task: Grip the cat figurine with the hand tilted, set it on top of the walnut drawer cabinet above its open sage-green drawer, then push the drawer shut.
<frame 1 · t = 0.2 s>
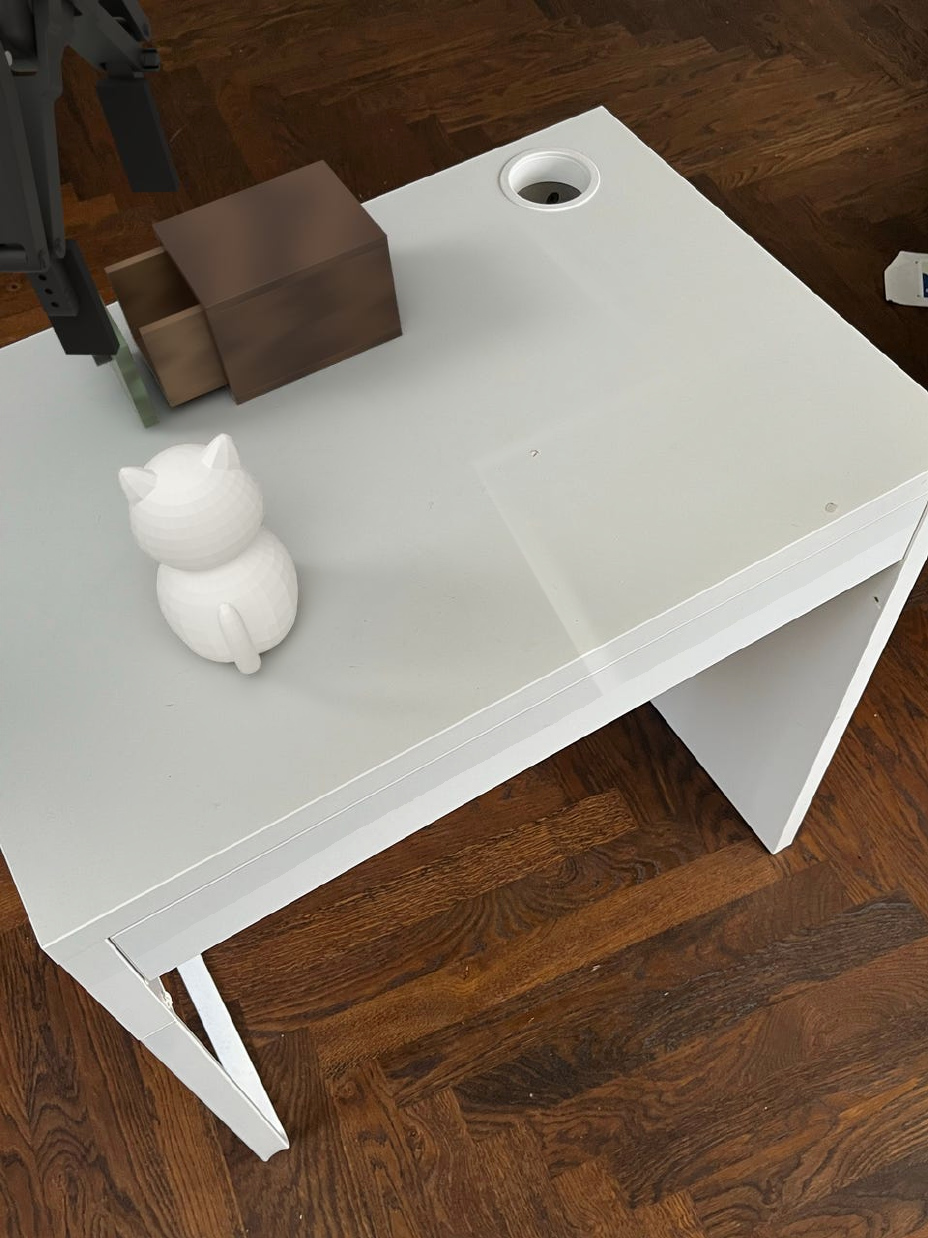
hand: (126, 264, 63), 24 cm above the table, tool pointing down, fingers open, 13 cm apart
drawer: (182, 320, 89), point 5 cm above the table, slide at 6.0 cm
cabinet: (292, 328, 95), on the table
cat figurine: (244, 628, 78), on the table
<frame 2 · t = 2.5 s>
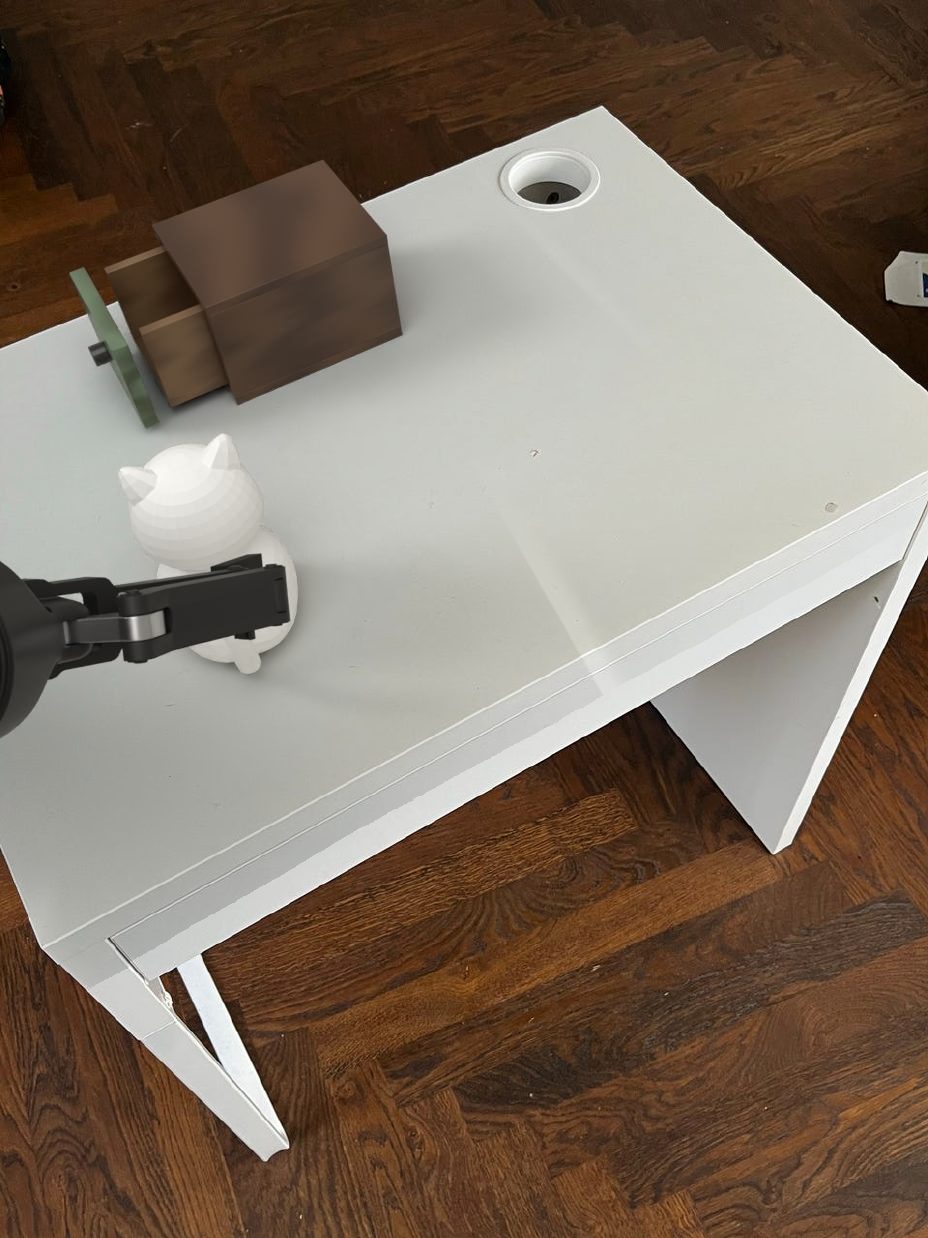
hand: (126, 589, 59), 17 cm above the table, tool tilted 45°, fingers open, 13 cm apart
nothing on the table moved.
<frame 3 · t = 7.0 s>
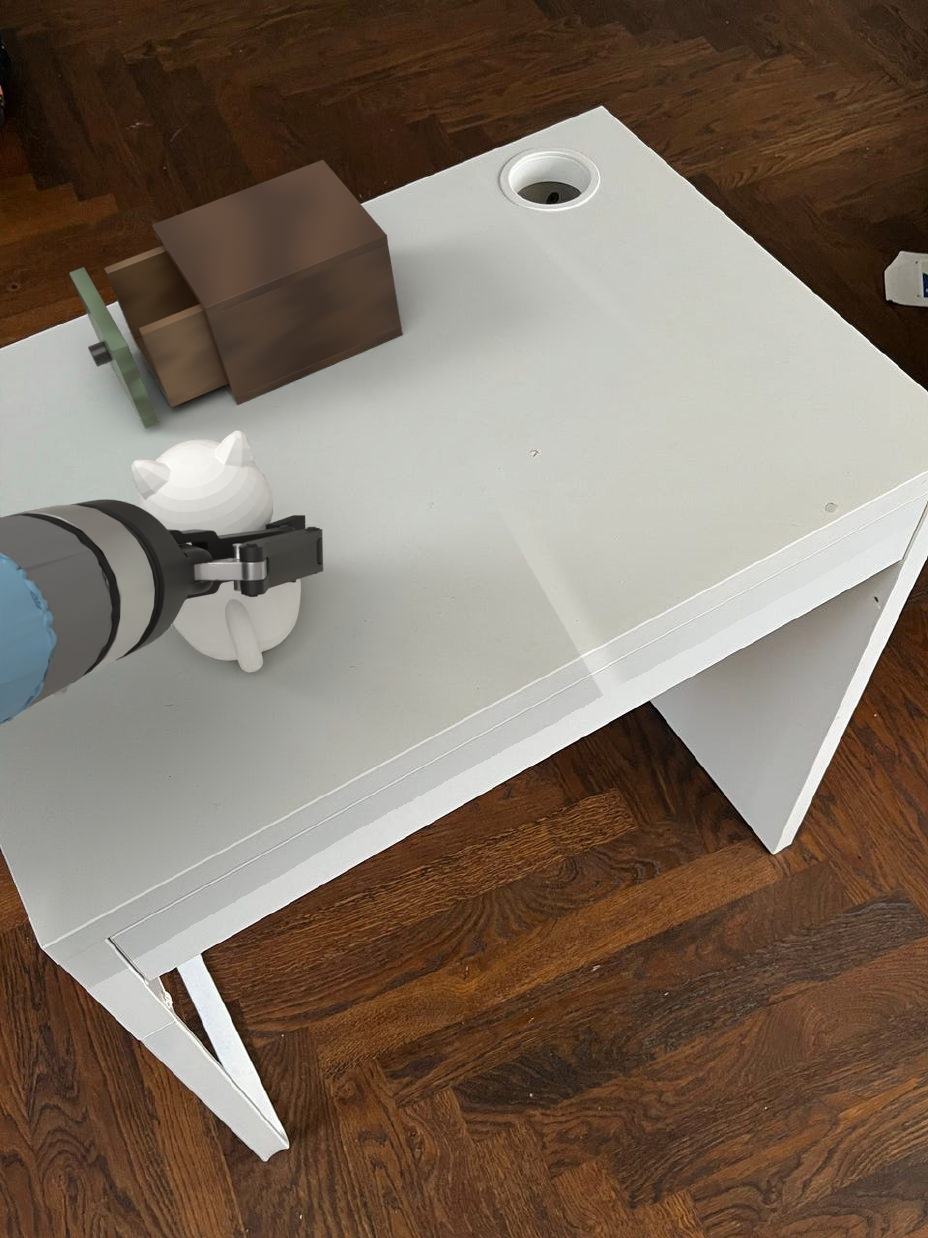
hand: (232, 535, 75), 6 cm above the table, tool tilted 45°, fingers closed on cat figurine, 8 cm apart
cat figurine: (245, 627, 77), on the table, touching gripper
everything else where it was.
when the fingers open (15 cm above the table, at t = 18.8 s): cat figurine stays where it is, resting on cabinet.
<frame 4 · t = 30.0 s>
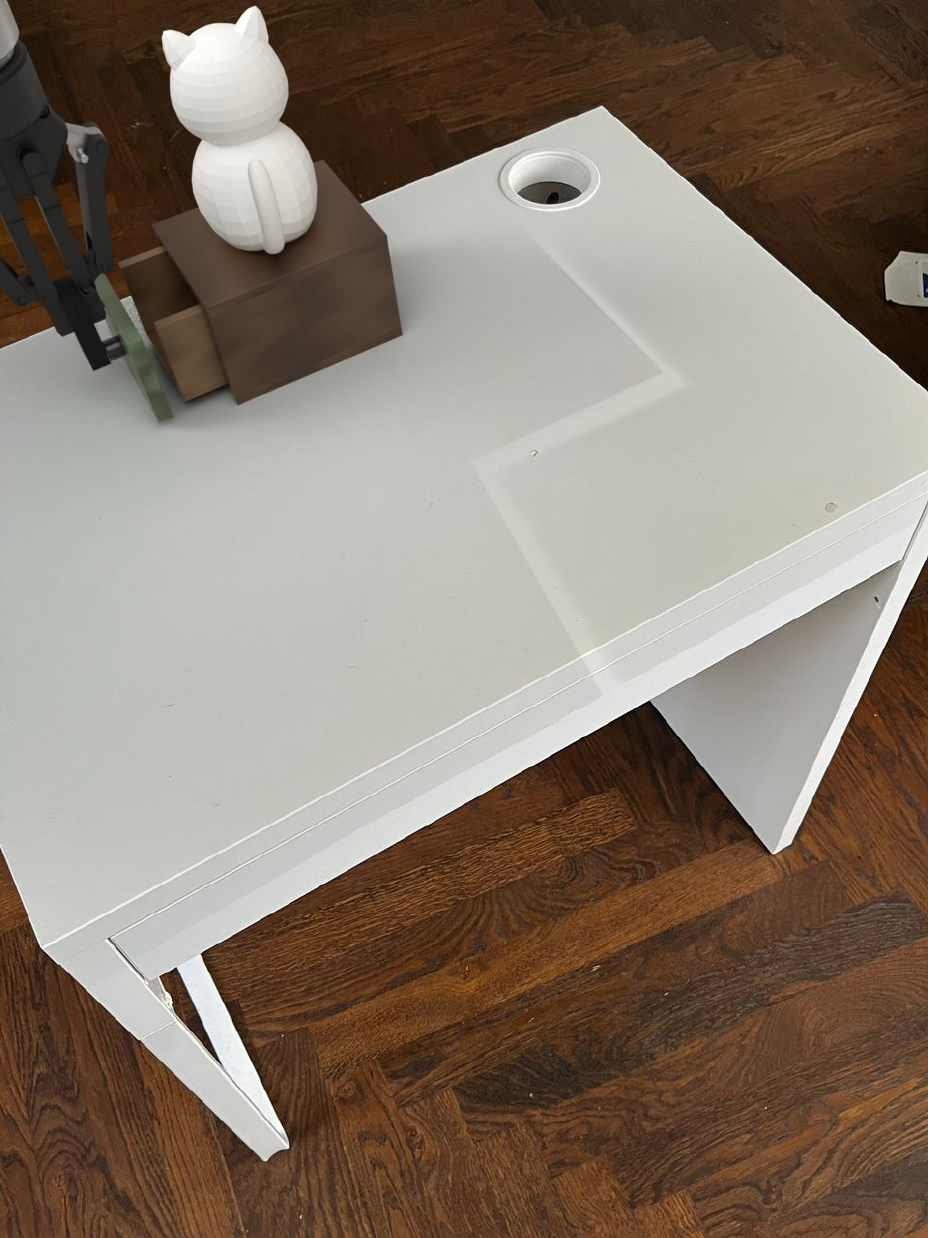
hand: (96, 356, 87), 5 cm above the table, tool pointing down, fingers closed
drawer: (195, 315, 89), point 5 cm above the table, slide at 4.9 cm, touching gripper
cat figurine: (269, 232, 87), point 9 cm above the table, touching cabinet
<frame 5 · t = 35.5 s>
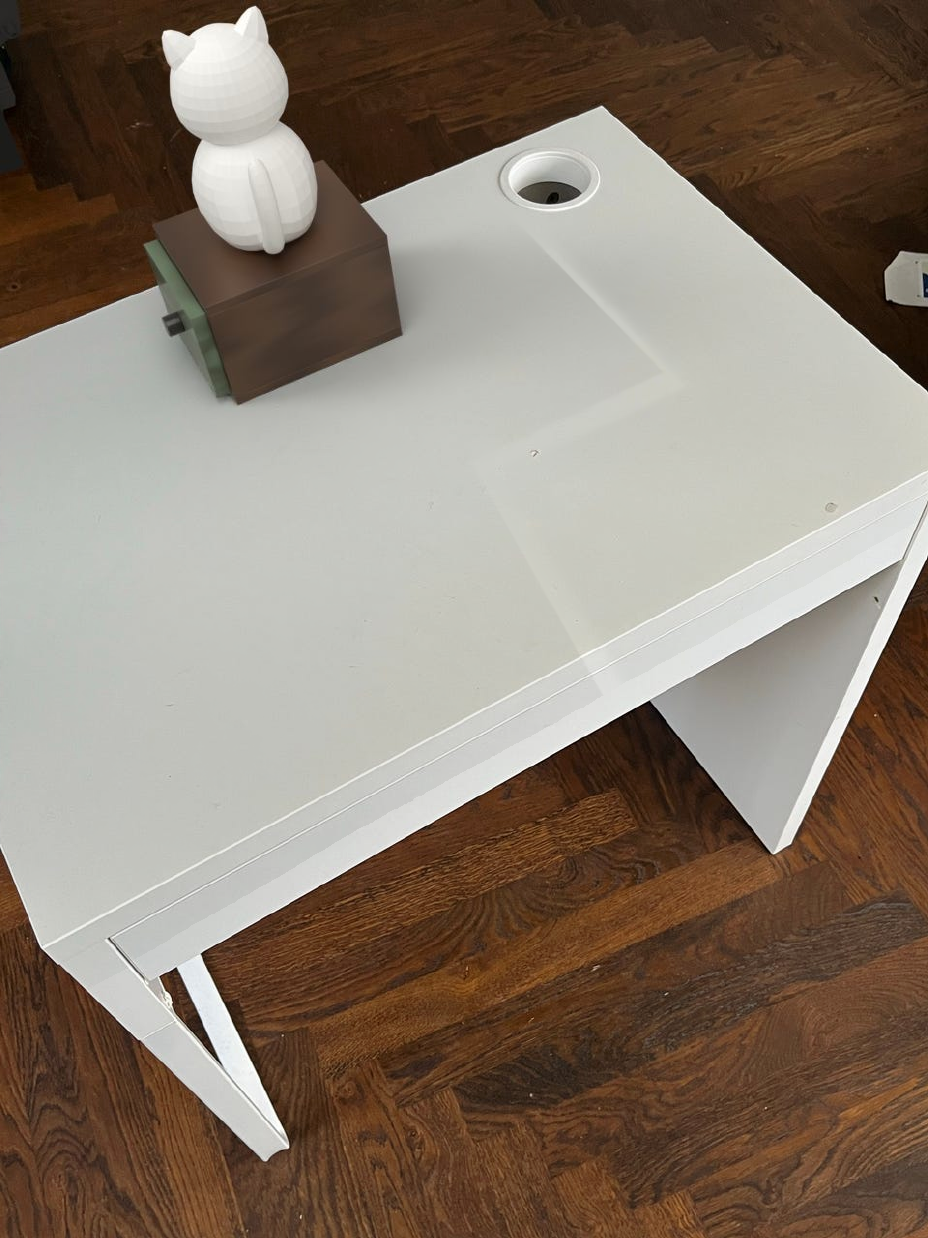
hand: (7, 159, 72), 22 cm above the table, tool pointing down, fingers closed
drawer: (253, 292, 90), point 5 cm above the table, slide at 0.0 cm, touching cabinet
everything else where it was.
at the end: cat figurine inside the target area on the cabinet (0.2 cm from its centre), point 9.4 cm above the cabinet's base; cat figurine tilted 0°; drawer slide at 0.0 cm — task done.
